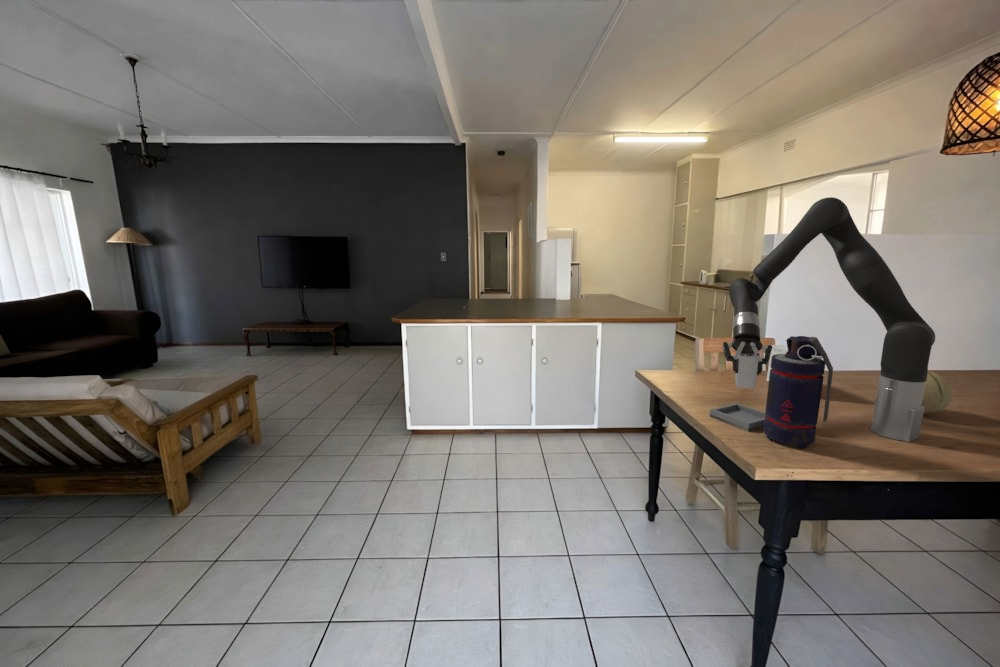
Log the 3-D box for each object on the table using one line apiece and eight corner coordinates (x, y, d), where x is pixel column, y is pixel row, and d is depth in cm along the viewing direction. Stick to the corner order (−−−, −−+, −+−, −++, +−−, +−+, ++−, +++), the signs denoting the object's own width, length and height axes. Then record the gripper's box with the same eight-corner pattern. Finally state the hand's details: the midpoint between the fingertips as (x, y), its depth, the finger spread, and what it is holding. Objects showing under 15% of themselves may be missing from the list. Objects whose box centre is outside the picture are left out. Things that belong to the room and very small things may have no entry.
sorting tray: (775, 423, 123) (776, 416, 122) (748, 431, 117) (749, 423, 117) (735, 409, 134) (736, 403, 134) (709, 416, 129) (710, 409, 129)
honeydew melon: (942, 425, 120) (951, 378, 117) (878, 410, 132) (885, 367, 129) (952, 414, 128) (961, 370, 125) (890, 401, 140) (897, 361, 137)
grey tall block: (752, 384, 125) (756, 353, 123) (755, 388, 121) (758, 357, 119) (734, 382, 127) (738, 351, 125) (736, 386, 123) (739, 355, 121)
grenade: (758, 439, 112) (769, 337, 106) (767, 427, 120) (779, 331, 115) (819, 456, 102) (835, 344, 97) (825, 441, 110) (840, 337, 105)
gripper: (723, 320, 130) (722, 364, 122) (774, 323, 124) (777, 369, 115) (720, 333, 136) (719, 376, 127) (769, 336, 130) (772, 381, 121)
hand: (747, 372), depth 121 cm, fingers closed on grey tall block, 5 cm apart
